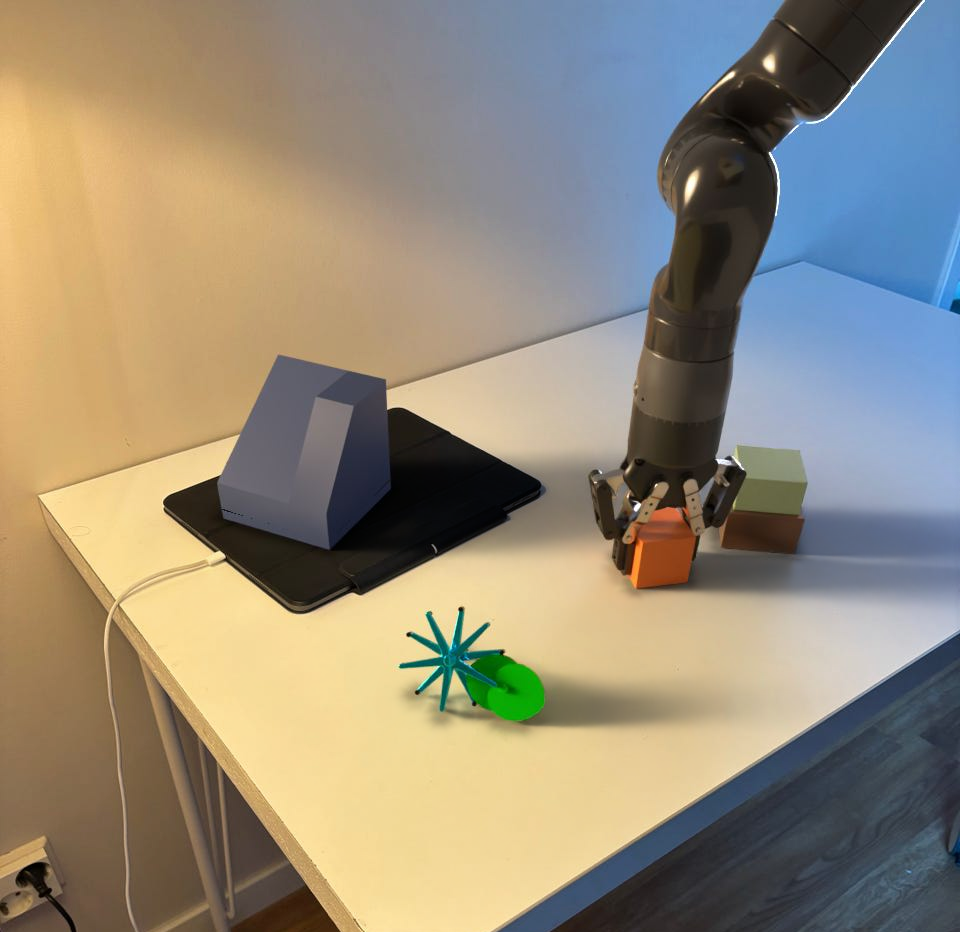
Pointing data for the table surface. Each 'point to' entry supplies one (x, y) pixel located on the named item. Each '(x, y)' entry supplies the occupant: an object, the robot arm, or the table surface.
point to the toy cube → (663, 550)
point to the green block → (771, 480)
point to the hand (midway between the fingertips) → (652, 565)
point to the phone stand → (309, 453)
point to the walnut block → (761, 531)
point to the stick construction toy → (481, 673)
